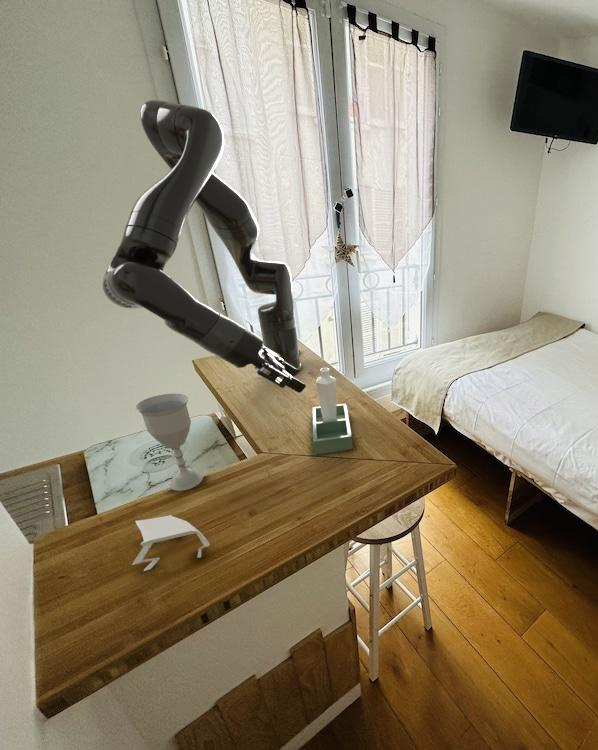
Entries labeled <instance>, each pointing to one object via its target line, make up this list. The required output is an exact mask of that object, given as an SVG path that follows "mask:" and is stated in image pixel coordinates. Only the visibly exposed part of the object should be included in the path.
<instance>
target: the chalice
mask: <svg viewBox="0 0 598 750" xmlns="http://www.w3.org/2000/svg"><path fill="white" fill-rule="evenodd" d="M188 402H189V397H188V396H187V395H185V394H183V393H164V394H158V395H154V396H150V397H148V398H145V399H142V400H141V401H140V402H138V403H137V404H136V405H135V410H136V411H137V412H138V413H140V414H141V416H142V420H143V422H144V425H145V428H146V431H147V433H149V435H150V436H152V438H154V439H155V440H156V441H157V442H158V443H160V444H161V445H162V446H164V447H165V448H167V449H173V454H172V457H174V458H175V459H176V461H175V462H174V464H175V465H176V466H178V470H177V471H176V472H175V473H174V474H173V476H172V480H171V483H170V489H171V490H174V491H175V492H176V491H179V492H182V491H187V490H191V489H193V488H194V487H195V488H196V487H197V486H199V484H201V482H202V481H203V479H204V477H203V475H202V474H201V473H200V472H199V471H197V470H196V469H195V468H192V467H187V466H186V464H187V462H188V460H187V459H186V458H184V454H185V452H184V451H183V450H182V449H181V446H183V445H184V444H185V443H186V441H187V438H188V435H189V433H190V429H191V425H192V421H191V417H190V413H189V410H188V406H187V405H188Z"/></svg>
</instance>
